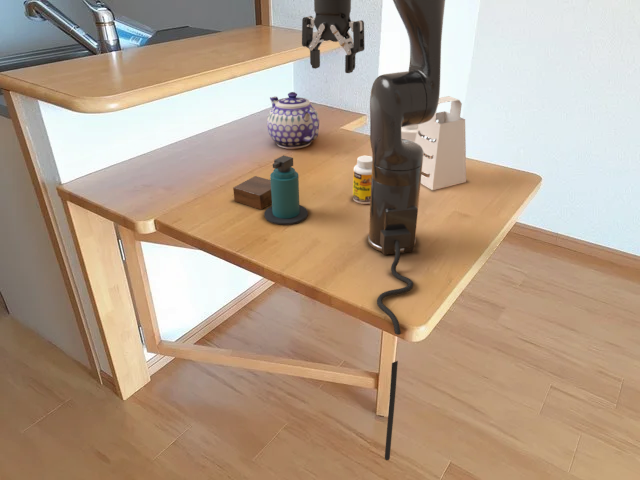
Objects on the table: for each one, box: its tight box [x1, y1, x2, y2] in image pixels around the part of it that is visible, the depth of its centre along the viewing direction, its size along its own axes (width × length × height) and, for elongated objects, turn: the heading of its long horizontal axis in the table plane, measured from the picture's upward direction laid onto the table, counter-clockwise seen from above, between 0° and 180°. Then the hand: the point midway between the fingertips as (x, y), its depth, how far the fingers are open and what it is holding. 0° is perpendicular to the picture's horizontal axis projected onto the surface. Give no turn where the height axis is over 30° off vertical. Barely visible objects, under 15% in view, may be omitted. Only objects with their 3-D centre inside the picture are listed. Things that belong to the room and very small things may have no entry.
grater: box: [415, 95, 467, 191], centre depth 128 cm, size 10×10×20 cm
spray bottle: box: [269, 155, 300, 219], centre depth 113 cm, size 12×6×13 cm
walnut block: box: [232, 175, 272, 210], centre depth 122 cm, size 8×8×4 cm
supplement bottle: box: [352, 155, 372, 205], centre depth 120 cm, size 6×6×10 cm
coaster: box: [263, 204, 309, 226], centre depth 116 cm, size 10×10×1 cm
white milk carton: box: [401, 124, 419, 142], centre depth 147 cm, size 7×7×12 cm
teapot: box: [266, 91, 320, 150], centre depth 153 cm, size 25×15×15 cm, turn 31°
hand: (332, 70), depth 114 cm, fingers open, 8 cm apart
